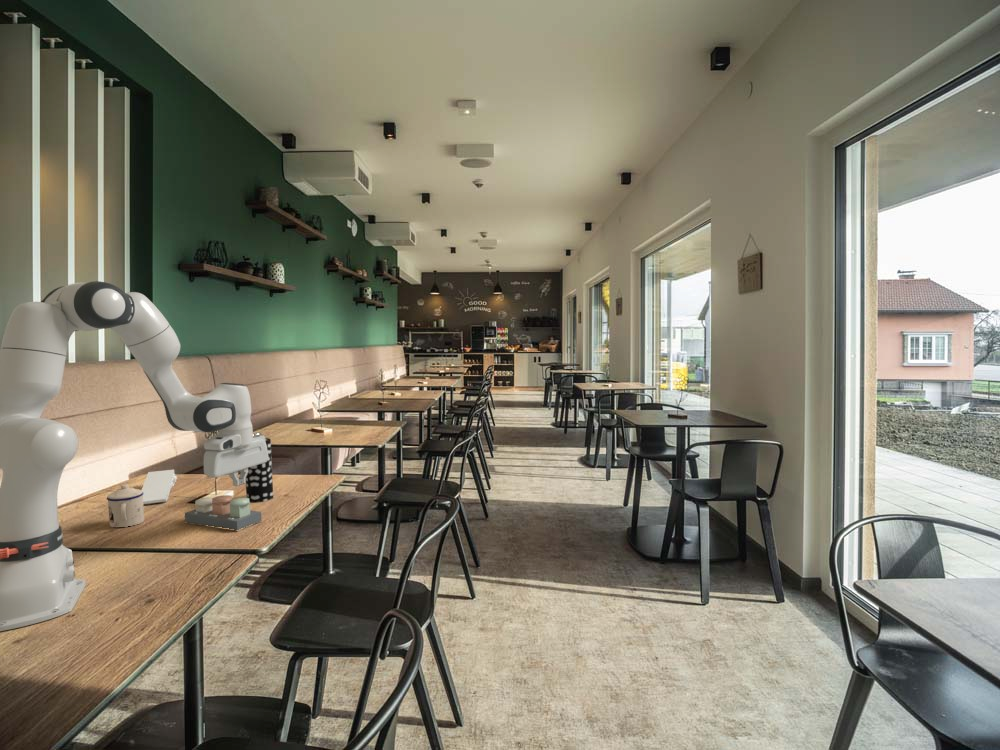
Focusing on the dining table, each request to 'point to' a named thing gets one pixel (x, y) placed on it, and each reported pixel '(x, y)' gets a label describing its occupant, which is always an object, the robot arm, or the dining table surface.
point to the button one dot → (203, 505)
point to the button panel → (222, 519)
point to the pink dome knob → (221, 504)
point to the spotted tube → (260, 479)
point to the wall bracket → (158, 486)
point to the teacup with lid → (125, 507)
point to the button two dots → (239, 507)
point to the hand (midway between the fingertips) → (239, 484)
